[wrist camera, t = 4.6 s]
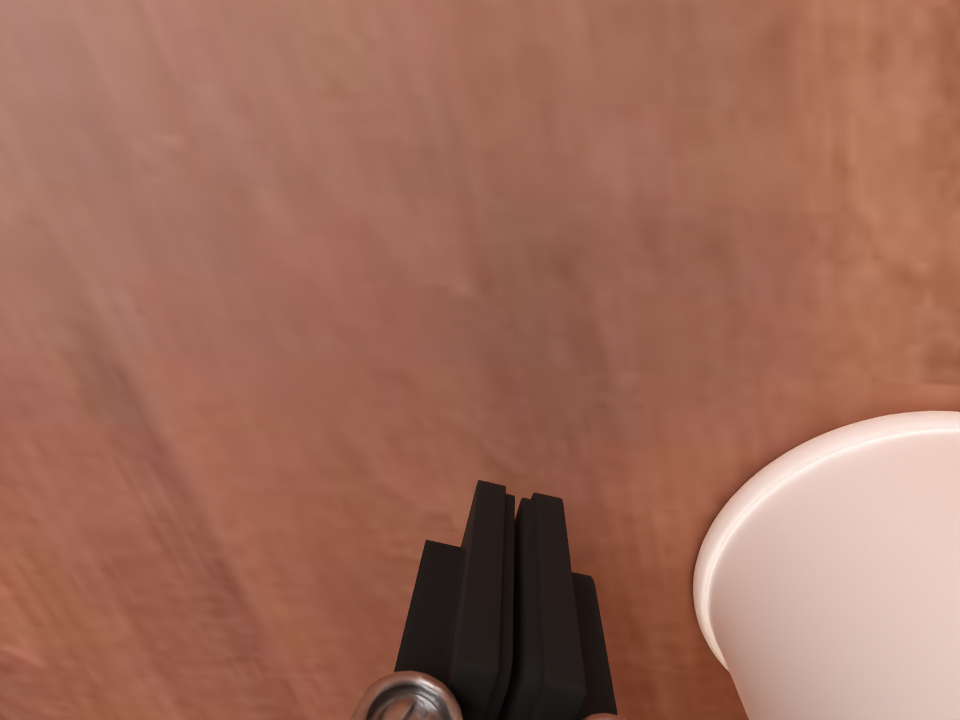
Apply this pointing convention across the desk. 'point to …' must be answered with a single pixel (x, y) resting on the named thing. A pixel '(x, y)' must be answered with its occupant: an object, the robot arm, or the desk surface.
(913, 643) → the smoke grenade
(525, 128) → the desk surface
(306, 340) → the desk surface
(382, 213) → the desk surface
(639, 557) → the desk surface
